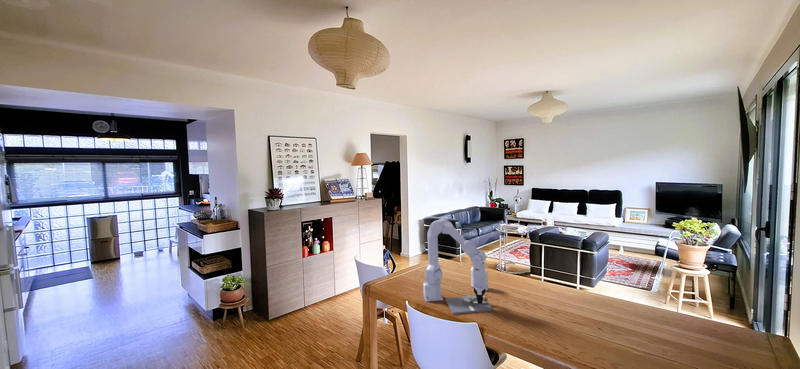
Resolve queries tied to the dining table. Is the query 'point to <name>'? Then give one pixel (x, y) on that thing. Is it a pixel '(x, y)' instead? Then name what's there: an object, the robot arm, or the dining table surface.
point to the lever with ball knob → (473, 298)
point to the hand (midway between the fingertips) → (480, 302)
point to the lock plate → (467, 306)
